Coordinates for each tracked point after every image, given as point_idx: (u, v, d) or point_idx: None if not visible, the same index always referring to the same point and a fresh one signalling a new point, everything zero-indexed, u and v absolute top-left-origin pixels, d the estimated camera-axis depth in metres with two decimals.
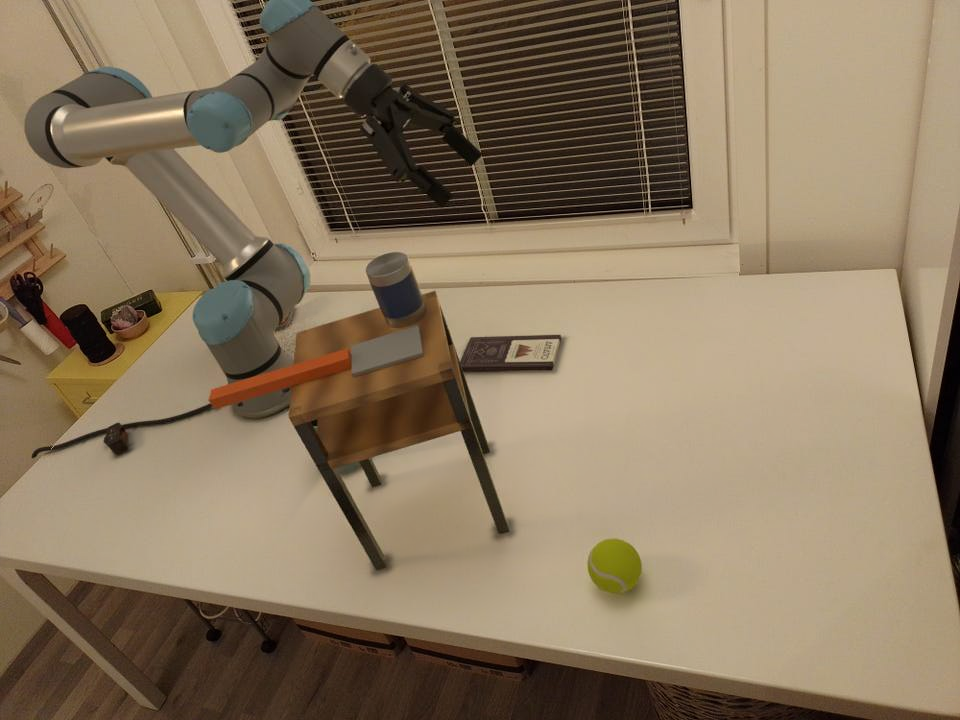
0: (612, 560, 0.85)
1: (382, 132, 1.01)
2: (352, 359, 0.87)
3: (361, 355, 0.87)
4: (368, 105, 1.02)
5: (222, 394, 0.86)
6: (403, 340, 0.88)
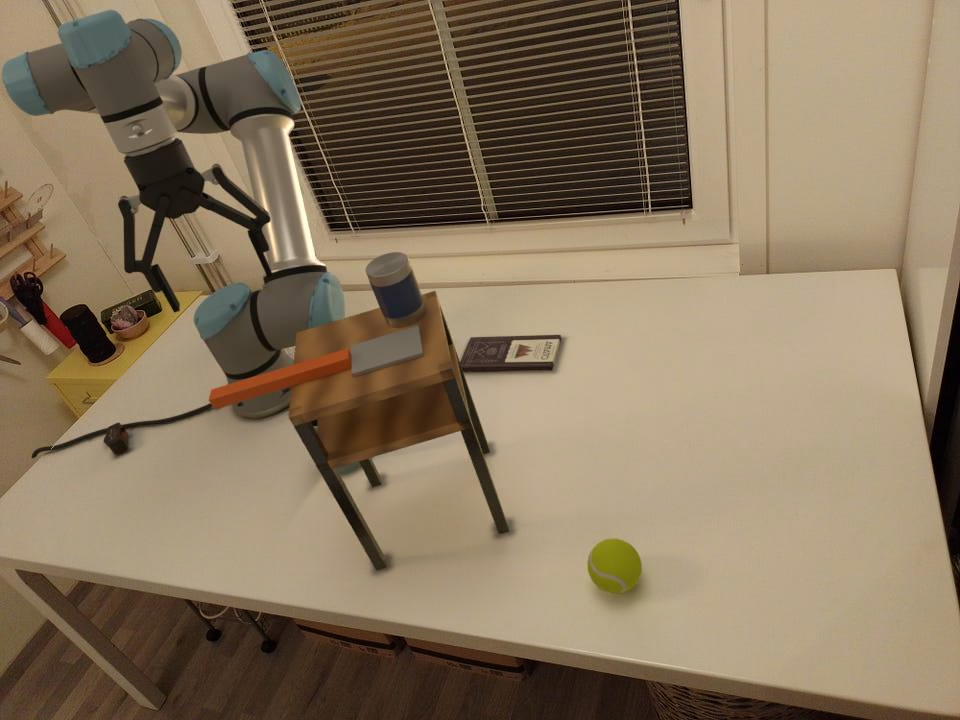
0: (612, 560, 0.85)
1: (127, 223, 0.91)
2: (352, 359, 0.87)
3: (361, 355, 0.87)
4: (136, 184, 0.90)
5: (222, 394, 0.86)
6: (403, 340, 0.88)
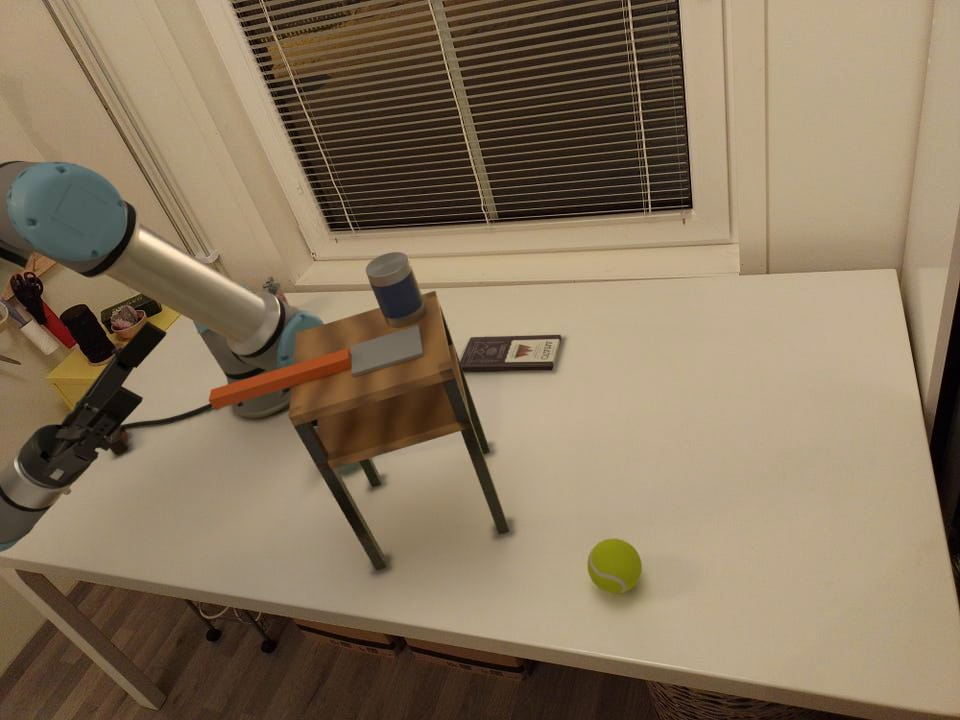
0: (612, 560, 0.85)
1: None
2: (352, 359, 0.87)
3: (361, 355, 0.87)
4: None
5: (222, 394, 0.86)
6: (403, 340, 0.88)
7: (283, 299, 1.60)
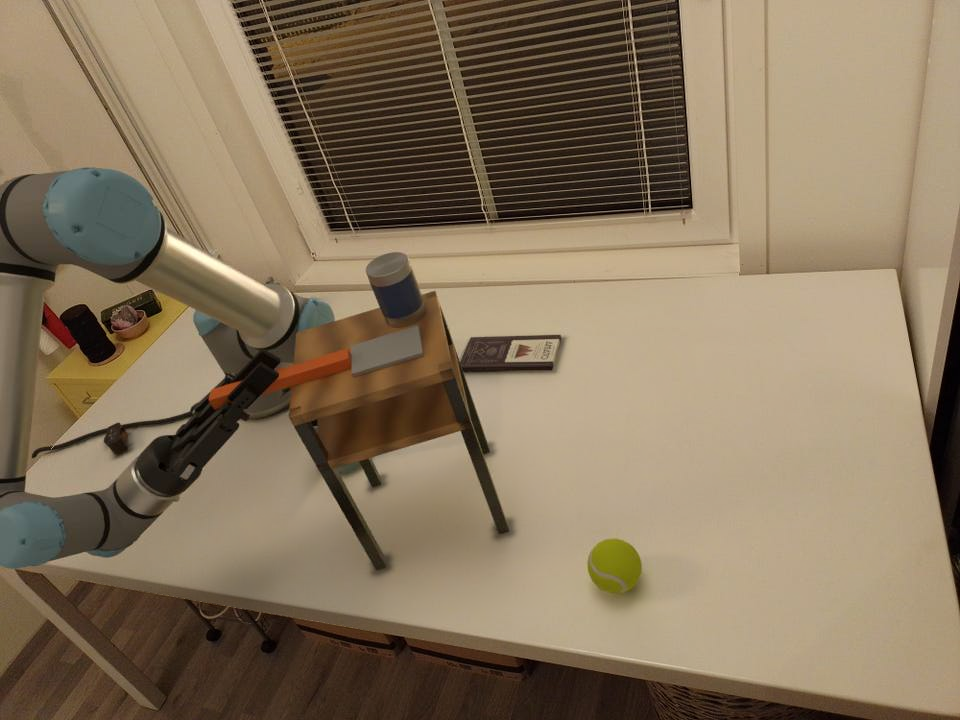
0: (612, 560, 0.85)
1: None
2: (352, 359, 0.87)
3: (361, 355, 0.87)
4: None
5: (222, 394, 0.86)
6: (403, 340, 0.88)
7: None
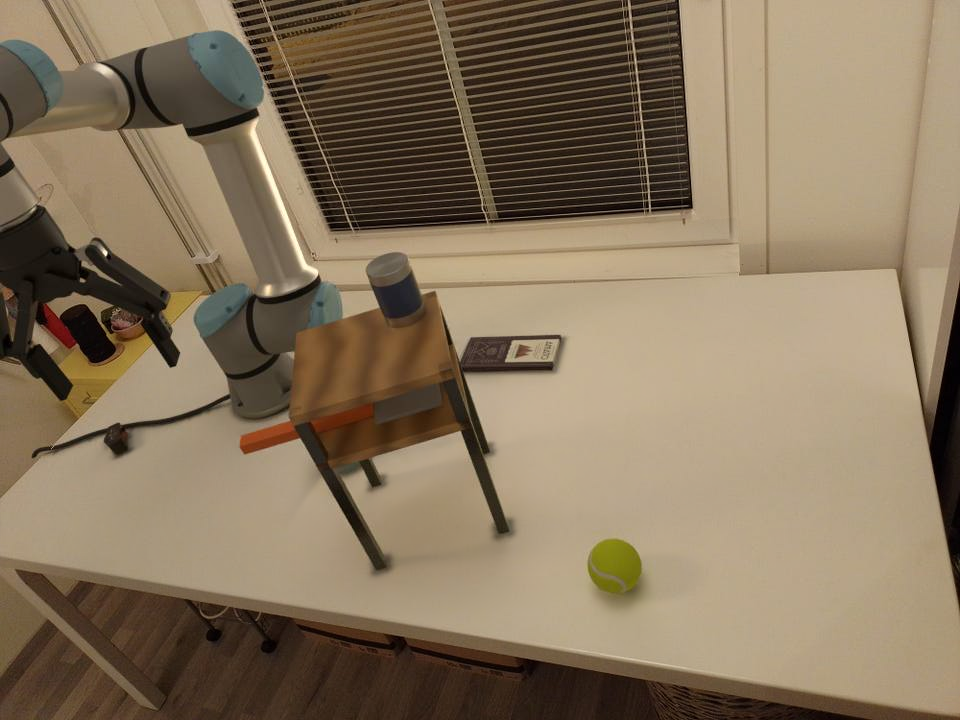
0: (612, 560, 0.85)
1: None
2: (374, 407, 0.92)
3: (383, 403, 0.92)
4: None
5: (252, 440, 0.92)
6: (422, 389, 0.93)
7: None
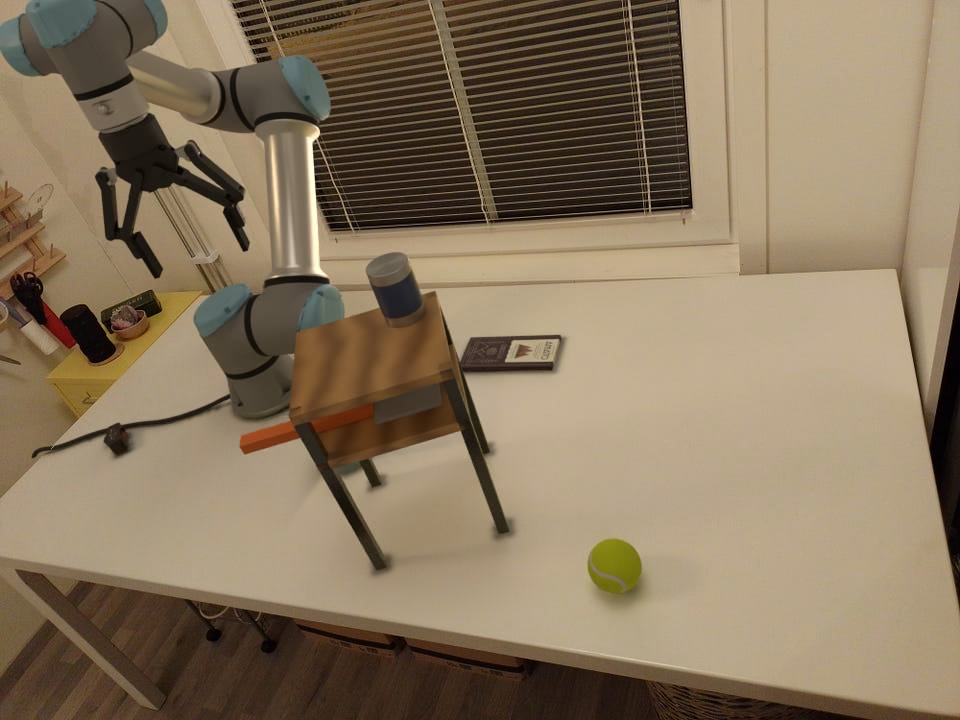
0: (612, 560, 0.85)
1: (105, 195, 0.95)
2: (374, 407, 0.92)
3: (383, 403, 0.92)
4: (111, 158, 0.93)
5: (252, 440, 0.92)
6: (422, 389, 0.93)
7: None
